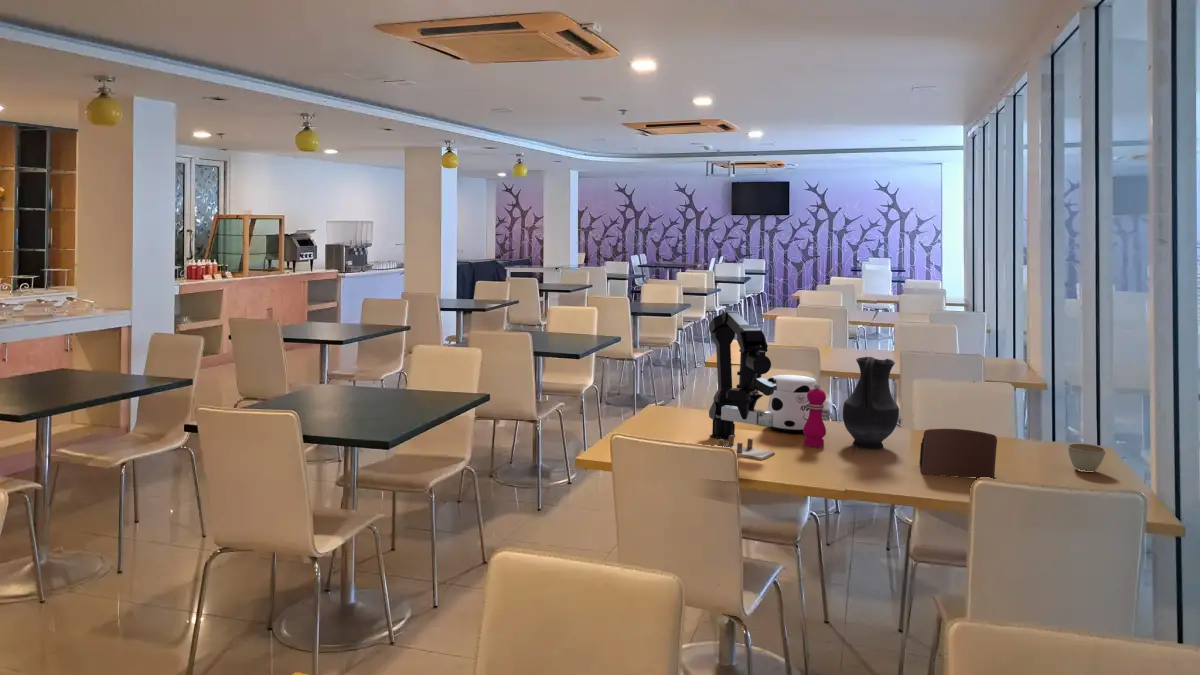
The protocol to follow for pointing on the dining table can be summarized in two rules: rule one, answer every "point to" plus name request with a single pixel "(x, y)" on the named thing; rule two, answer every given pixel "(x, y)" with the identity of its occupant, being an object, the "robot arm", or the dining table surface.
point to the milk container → (790, 402)
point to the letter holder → (958, 453)
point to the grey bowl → (1086, 456)
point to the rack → (746, 449)
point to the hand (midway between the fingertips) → (746, 418)
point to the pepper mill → (815, 418)
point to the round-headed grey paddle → (752, 416)
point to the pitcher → (871, 405)
